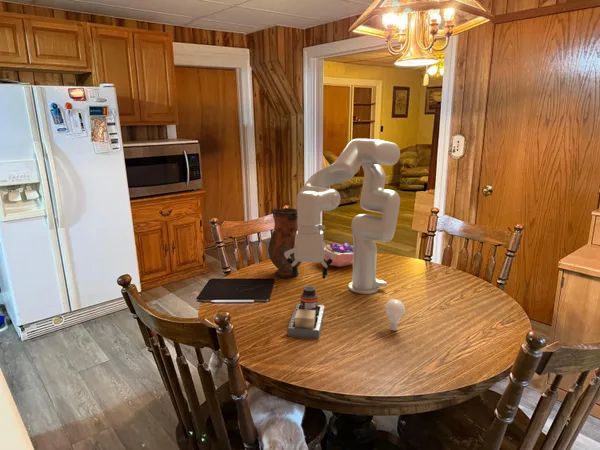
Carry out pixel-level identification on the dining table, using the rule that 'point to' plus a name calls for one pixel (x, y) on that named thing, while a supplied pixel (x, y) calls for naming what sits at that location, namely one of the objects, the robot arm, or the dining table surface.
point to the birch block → (305, 318)
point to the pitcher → (283, 240)
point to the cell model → (340, 254)
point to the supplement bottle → (309, 299)
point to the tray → (306, 332)
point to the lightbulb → (394, 312)
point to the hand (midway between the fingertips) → (310, 276)
